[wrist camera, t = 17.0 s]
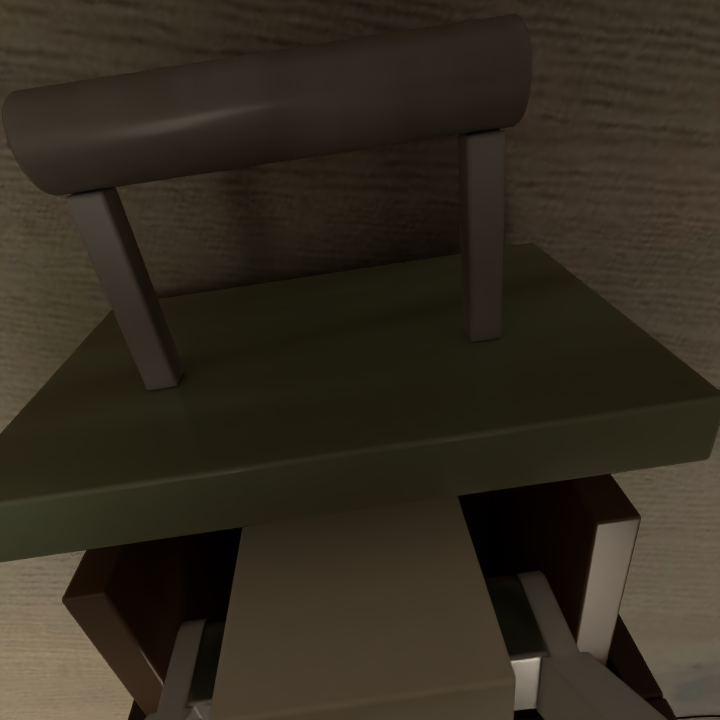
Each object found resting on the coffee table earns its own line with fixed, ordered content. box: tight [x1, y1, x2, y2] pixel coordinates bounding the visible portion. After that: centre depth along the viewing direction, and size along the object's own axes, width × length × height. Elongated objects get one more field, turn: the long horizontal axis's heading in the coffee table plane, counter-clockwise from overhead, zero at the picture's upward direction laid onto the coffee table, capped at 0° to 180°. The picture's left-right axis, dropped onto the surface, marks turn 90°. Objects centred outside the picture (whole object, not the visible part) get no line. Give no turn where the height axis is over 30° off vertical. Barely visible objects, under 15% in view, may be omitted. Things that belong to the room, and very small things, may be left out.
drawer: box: [0, 14, 720, 719], centre depth 12 cm, size 18×11×7 cm, turn 8°
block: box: [209, 496, 516, 720], centre depth 10 cm, size 4×4×4 cm
